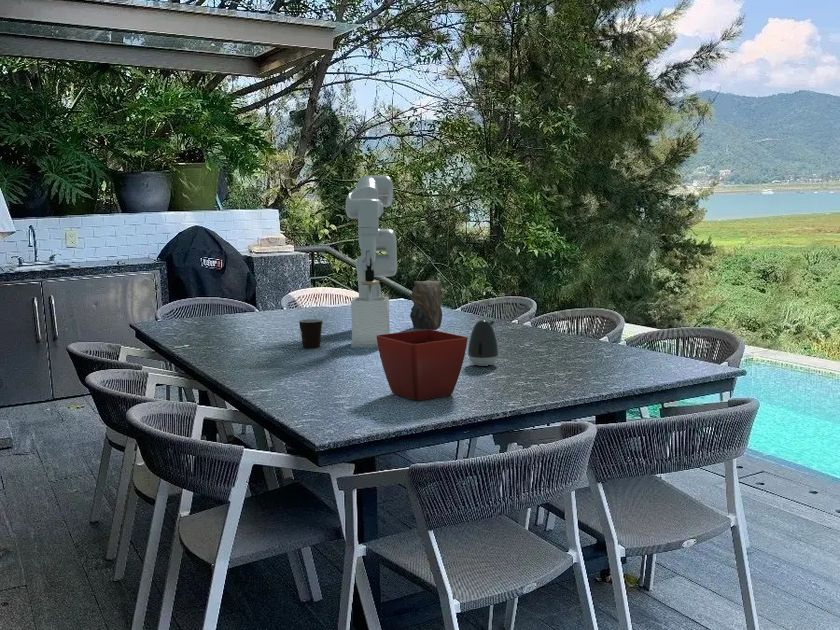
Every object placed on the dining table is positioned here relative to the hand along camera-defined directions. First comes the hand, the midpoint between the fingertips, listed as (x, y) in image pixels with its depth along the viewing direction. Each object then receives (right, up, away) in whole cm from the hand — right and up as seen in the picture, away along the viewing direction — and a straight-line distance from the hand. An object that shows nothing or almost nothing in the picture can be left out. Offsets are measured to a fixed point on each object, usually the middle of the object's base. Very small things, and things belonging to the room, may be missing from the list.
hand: (369, 280), depth 325 cm
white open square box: (0, -24, +3) cm, 24 cm away
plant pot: (+20, -36, -81) cm, 91 cm away
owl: (+23, -19, +44) cm, 53 cm away
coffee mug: (-22, -25, +1) cm, 33 cm away
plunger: (0, -17, +3) cm, 17 cm away
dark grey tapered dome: (+40, -30, -40) cm, 64 cm away
